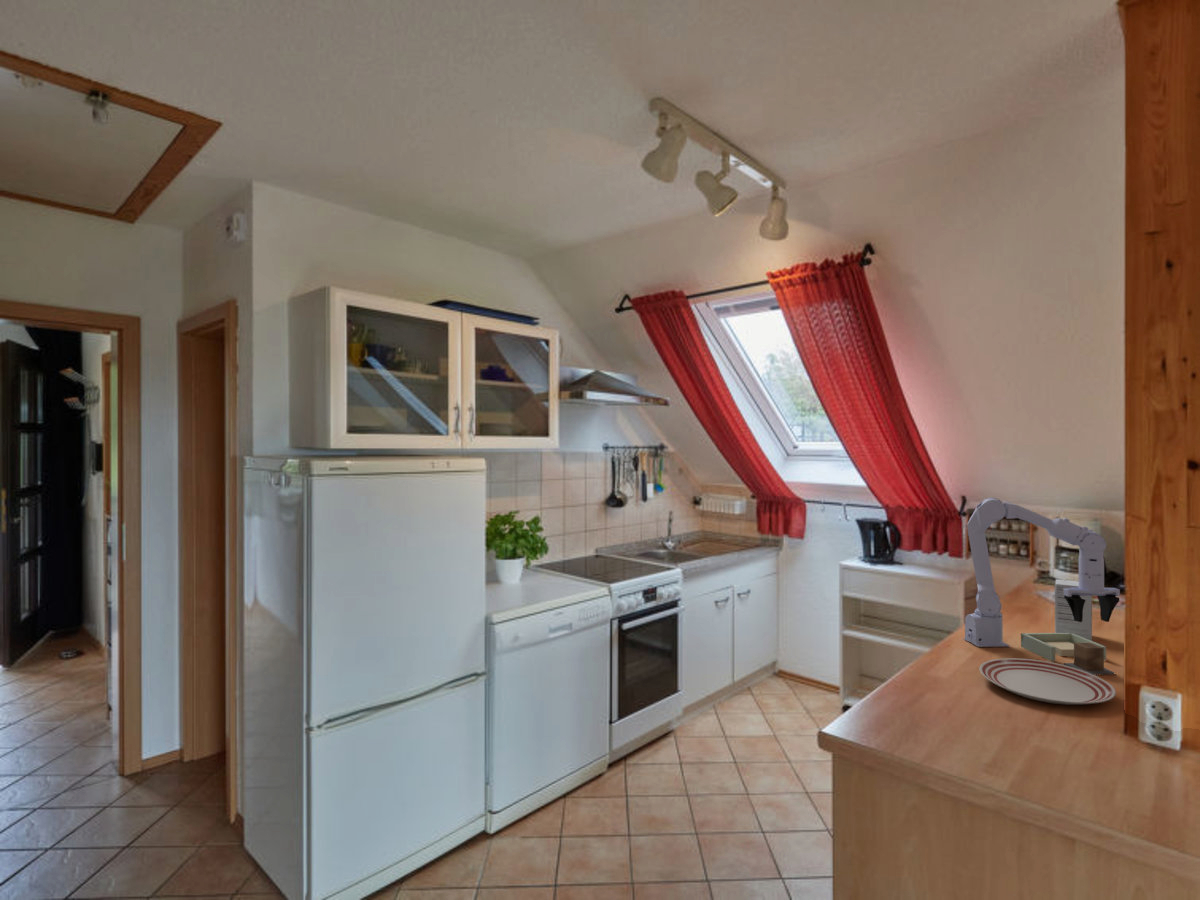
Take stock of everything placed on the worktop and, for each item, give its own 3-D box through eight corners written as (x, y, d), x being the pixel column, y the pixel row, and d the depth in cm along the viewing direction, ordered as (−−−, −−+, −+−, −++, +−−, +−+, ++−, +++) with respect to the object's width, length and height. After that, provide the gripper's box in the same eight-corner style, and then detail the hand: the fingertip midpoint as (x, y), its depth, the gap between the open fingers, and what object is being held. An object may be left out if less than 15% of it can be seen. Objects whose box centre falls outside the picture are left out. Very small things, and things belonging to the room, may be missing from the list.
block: (1086, 670, 166) (1086, 648, 166) (1074, 664, 171) (1073, 642, 171) (1103, 670, 166) (1103, 648, 166) (1090, 664, 171) (1090, 642, 171)
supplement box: (1092, 643, 190) (1091, 587, 190) (1054, 637, 196) (1054, 583, 196) (1091, 635, 198) (1091, 581, 198) (1055, 630, 203) (1055, 578, 203)
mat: (1085, 675, 164) (1085, 673, 164) (1063, 664, 172) (1063, 663, 172) (1116, 675, 164) (1116, 673, 164) (1093, 664, 172) (1093, 662, 172)
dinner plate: (1143, 718, 139) (1143, 703, 139) (1006, 709, 145) (1006, 694, 145) (1076, 673, 166) (1076, 661, 166) (963, 667, 172) (963, 655, 172)
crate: (1051, 661, 175) (1051, 647, 175) (1021, 646, 188) (1020, 633, 188) (1106, 661, 174) (1106, 646, 174) (1071, 646, 187) (1071, 632, 187)
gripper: (1076, 576, 175) (1076, 625, 175) (1128, 576, 175) (1128, 624, 175) (1057, 571, 182) (1058, 618, 182) (1108, 571, 182) (1108, 617, 182)
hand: (1091, 621), depth 179 cm, fingers open, 7 cm apart
